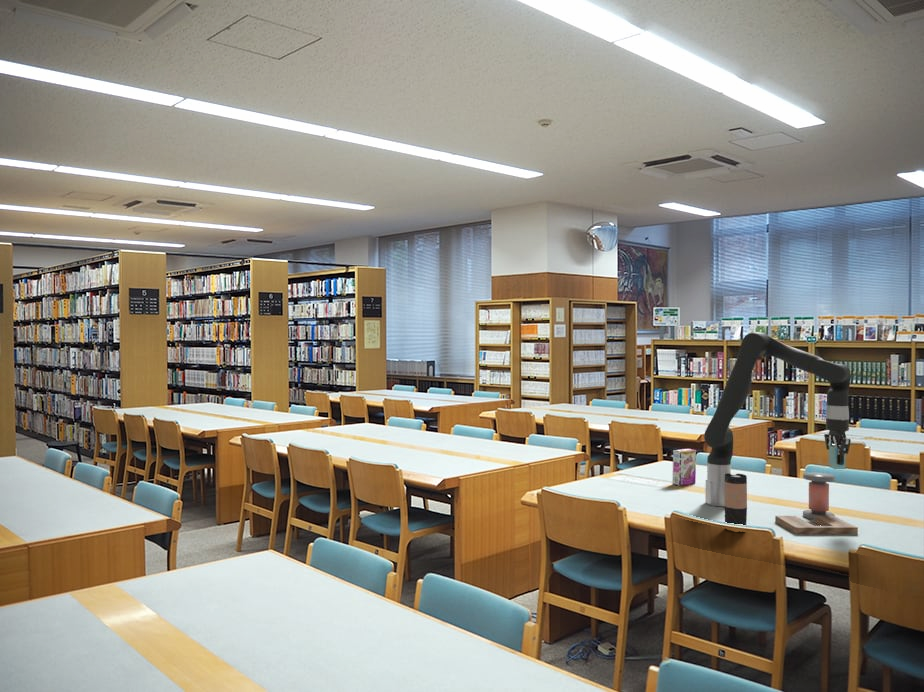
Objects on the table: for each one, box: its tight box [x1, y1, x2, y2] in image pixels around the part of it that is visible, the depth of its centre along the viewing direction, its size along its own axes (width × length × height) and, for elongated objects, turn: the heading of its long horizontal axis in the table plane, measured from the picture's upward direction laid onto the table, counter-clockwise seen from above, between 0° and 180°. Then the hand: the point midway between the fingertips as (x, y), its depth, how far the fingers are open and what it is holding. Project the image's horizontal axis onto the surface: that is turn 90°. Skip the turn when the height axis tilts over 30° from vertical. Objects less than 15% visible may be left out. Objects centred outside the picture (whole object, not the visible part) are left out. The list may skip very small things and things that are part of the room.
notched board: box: [774, 515, 859, 535], centre depth 251 cm, size 22×16×2 cm
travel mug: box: [723, 473, 748, 526], centre depth 249 cm, size 8×8×20 cm
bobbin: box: [802, 471, 836, 521], centre depth 265 cm, size 11×11×16 cm
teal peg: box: [828, 446, 847, 470], centre depth 254 cm, size 4×4×8 cm
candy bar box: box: [671, 448, 697, 487], centre depth 326 cm, size 11×5×16 cm, turn 122°
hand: (836, 463), depth 254 cm, fingers closed on teal peg, 4 cm apart
